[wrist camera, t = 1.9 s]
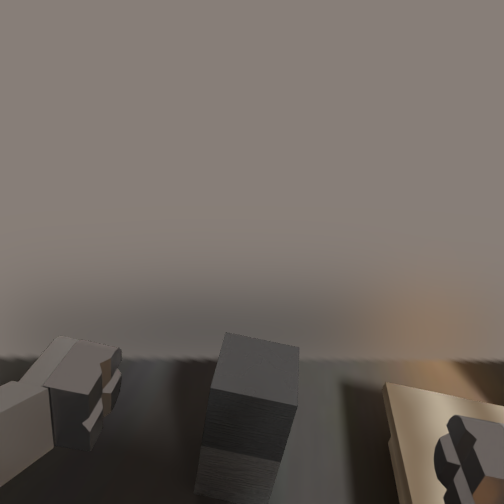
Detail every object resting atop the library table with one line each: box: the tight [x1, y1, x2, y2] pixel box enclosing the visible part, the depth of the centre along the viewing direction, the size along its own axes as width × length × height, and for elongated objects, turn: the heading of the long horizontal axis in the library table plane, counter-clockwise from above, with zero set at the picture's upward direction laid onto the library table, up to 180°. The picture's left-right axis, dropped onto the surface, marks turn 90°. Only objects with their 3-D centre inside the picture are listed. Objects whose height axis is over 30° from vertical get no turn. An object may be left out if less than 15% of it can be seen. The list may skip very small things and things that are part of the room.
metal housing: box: [194, 332, 299, 504], centre depth 28 cm, size 5×5×10 cm
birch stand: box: [382, 382, 504, 504], centre depth 29 cm, size 13×13×5 cm
